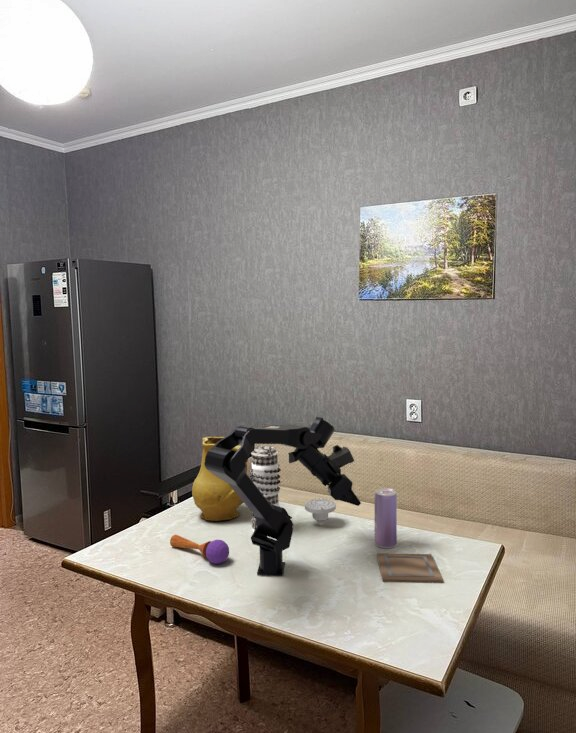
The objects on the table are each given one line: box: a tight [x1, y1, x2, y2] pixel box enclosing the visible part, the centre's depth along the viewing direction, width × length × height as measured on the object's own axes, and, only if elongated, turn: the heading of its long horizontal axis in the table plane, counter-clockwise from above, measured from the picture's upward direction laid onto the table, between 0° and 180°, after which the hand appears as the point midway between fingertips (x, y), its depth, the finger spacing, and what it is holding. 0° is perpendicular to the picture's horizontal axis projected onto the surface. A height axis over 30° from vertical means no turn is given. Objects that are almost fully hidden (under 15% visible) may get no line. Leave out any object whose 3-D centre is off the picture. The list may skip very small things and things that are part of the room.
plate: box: [376, 552, 444, 584], centre depth 133 cm, size 14×14×1 cm
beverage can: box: [373, 487, 398, 549], centre depth 146 cm, size 6×6×15 cm
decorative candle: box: [249, 445, 282, 534], centre depth 157 cm, size 9×9×25 cm
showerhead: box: [304, 497, 337, 526], centre depth 162 cm, size 9×7×10 cm
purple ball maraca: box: [169, 534, 230, 565], centre depth 142 cm, size 6×6×20 cm
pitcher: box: [191, 436, 249, 522], centre depth 169 cm, size 17×19×25 cm
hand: (355, 498), depth 145 cm, fingers open, 9 cm apart
